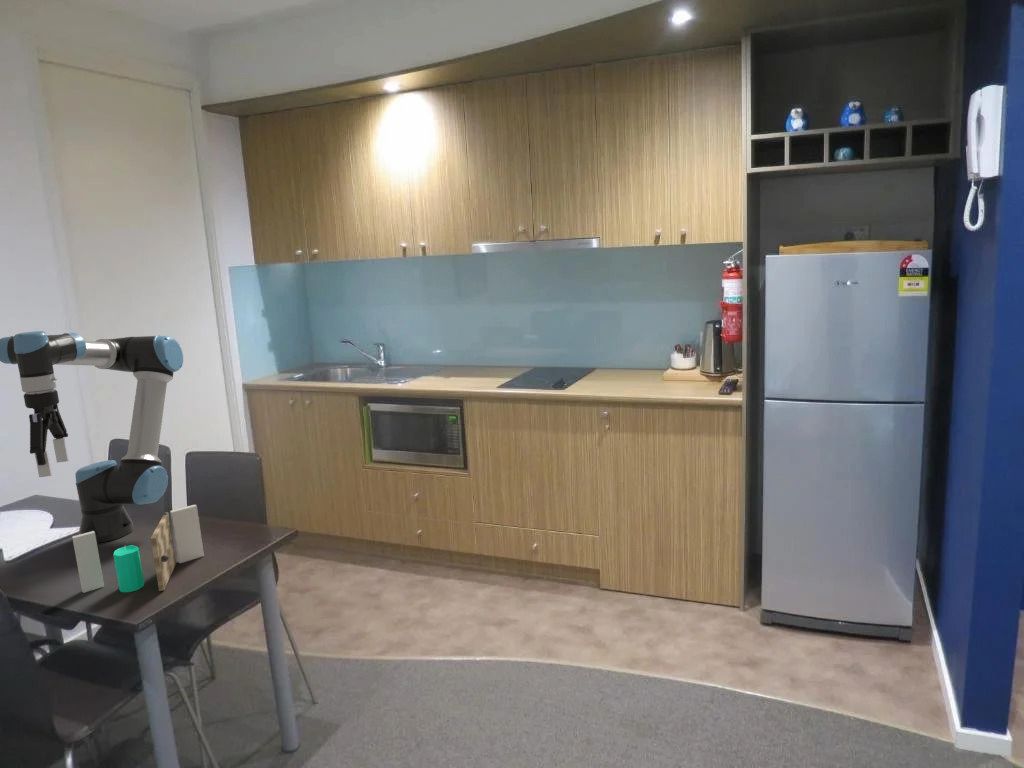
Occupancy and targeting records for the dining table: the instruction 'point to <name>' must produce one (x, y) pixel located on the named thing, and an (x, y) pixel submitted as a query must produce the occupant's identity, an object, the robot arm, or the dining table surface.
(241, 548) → the dining table surface
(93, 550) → the door frame
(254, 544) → the dining table surface
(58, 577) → the dining table surface
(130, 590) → the candle
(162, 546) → the door
